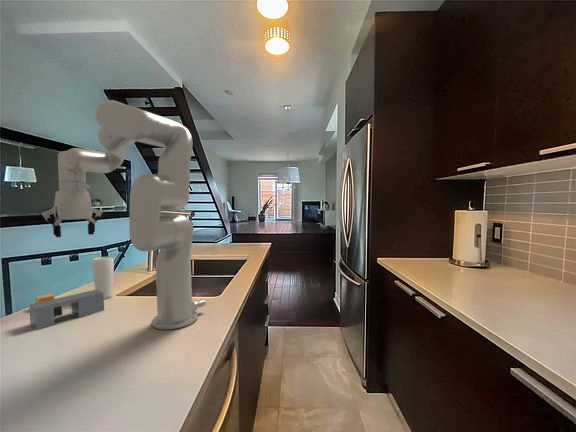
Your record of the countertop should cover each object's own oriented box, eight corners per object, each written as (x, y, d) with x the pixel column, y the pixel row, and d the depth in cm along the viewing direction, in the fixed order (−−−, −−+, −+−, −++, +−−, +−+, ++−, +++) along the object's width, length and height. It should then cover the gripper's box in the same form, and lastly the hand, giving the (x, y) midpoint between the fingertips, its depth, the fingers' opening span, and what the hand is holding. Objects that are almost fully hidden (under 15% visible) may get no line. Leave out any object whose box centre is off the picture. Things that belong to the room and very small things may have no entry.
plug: (49, 304, 99) (48, 292, 99) (66, 313, 89) (65, 301, 89) (34, 307, 96) (34, 296, 95) (50, 317, 86) (49, 305, 86)
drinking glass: (112, 298, 103) (111, 259, 102) (91, 301, 101) (89, 260, 100) (116, 293, 109) (115, 256, 109) (96, 296, 107) (94, 257, 106)
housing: (96, 306, 95) (95, 289, 95) (104, 310, 91) (103, 292, 91) (30, 324, 81) (29, 304, 81) (36, 329, 78) (35, 308, 77)
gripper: (96, 188, 107) (98, 233, 107) (37, 186, 93) (40, 237, 93) (105, 187, 102) (106, 233, 103) (44, 185, 88) (47, 238, 89)
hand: (75, 235), depth 98 cm, fingers open, 9 cm apart
